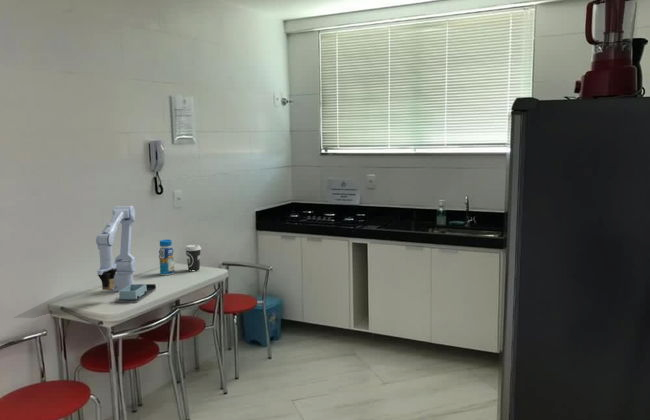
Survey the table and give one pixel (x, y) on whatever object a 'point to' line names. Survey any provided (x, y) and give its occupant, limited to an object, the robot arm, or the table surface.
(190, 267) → the coffee cup
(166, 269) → the beverage bottle
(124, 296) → the cart
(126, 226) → the robot arm
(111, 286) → the walnut block
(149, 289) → the rail
